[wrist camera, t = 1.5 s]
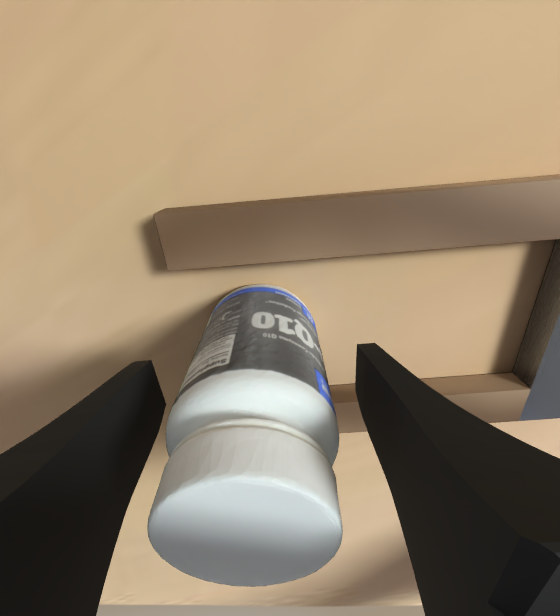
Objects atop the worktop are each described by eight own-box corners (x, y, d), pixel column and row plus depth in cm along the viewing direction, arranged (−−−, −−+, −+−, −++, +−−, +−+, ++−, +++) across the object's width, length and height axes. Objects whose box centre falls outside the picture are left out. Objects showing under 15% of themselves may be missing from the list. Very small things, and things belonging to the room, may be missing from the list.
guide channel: (502, 402, 16) (518, 420, 15) (216, 422, 16) (212, 442, 15) (578, 172, 11) (612, 174, 10) (165, 208, 11) (153, 214, 10)
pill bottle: (336, 328, 14) (412, 540, 6) (264, 387, 15) (255, 616, 8) (258, 257, 12) (232, 424, 5) (187, 330, 14) (79, 547, 6)
